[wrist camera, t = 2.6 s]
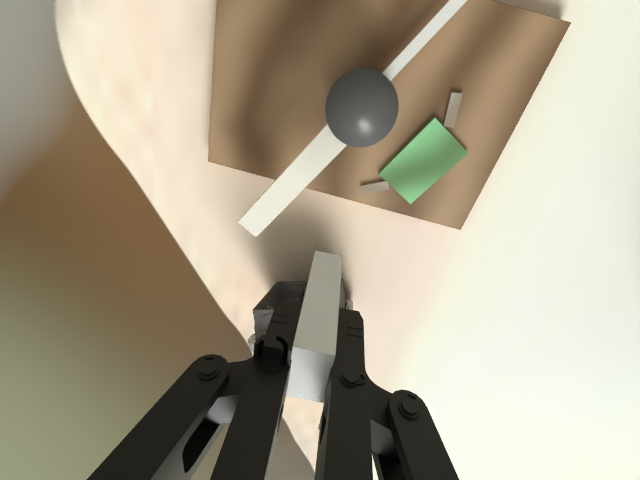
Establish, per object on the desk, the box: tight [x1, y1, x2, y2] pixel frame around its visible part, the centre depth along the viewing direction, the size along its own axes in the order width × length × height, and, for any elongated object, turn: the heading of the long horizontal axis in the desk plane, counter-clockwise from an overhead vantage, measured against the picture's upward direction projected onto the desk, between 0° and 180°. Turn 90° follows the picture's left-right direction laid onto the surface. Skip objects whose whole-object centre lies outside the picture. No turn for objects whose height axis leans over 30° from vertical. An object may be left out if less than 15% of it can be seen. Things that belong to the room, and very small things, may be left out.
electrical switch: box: [248, 279, 353, 351], centre depth 30 cm, size 9×5×9 cm, turn 99°
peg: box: [238, 0, 467, 237], centre depth 21 cm, size 22×4×6 cm, turn 137°
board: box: [208, 0, 571, 230], centre depth 24 cm, size 24×16×2 cm, turn 77°
